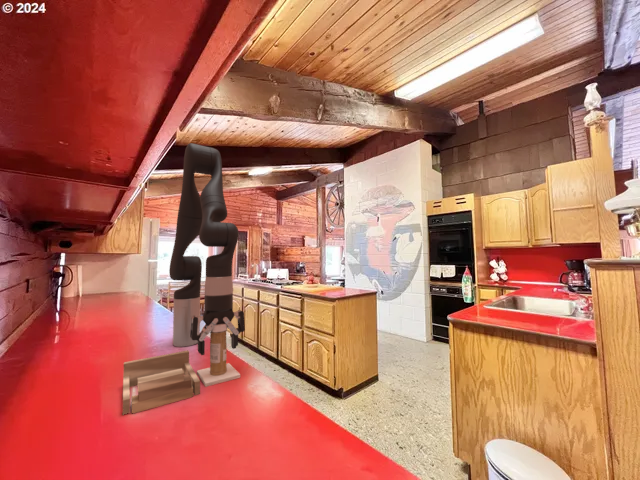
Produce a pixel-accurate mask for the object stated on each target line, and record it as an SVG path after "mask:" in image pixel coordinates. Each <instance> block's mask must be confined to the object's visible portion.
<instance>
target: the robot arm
mask: <svg viewBox="0 0 640 480" xmlns="http://www.w3.org/2000/svg"><path fill="white" fill-rule="evenodd" d="M184 150H185V151H184V157H183V171H182V183H181V184H182V186H181V195H180V199H179V205H178V211H177V218H176V226H175V227H176V229H175V237H174V239H175V240H174V243H173V249H172V252H171V258H170V262H169V263H170V264H169V270H168V271H169V277H170V279H171V280H173V281H188V280H189V283H188V284H186V285H185V286H183V287H182V288H179V289H176V290H175V291H174V292H173V315H172V316H173V320H172V322H173V327H172V345H173V346H174V347H177V348H178V347H180V348H182V347H190V346H193V345H196V344H197V351H198V353H199V354H200V355H201V356H205V355H206V354H205V348H206V347H205V346H206V345H205V342H206V341H205V339H206V337H207V336H208V335H209V334H210V331H211V330H212V328H213V327H214V326H215V325H218V324H226V325H227V329H229V331H230V332H231V338H230V339H231V342H230V344H231V345H230V347H231V348H232V349H233V350H234V349H237V347H238V346H239V334H241V333H242V332H245V331H246V329H245V328H246V327H245V325H246V324H245V312H244V311H243V310H241V309H238V310H237V311H234V309H233V308H234V301H233V300H234V294H233V293H234V283H233V282H234V281H233V259H234V254H235V251H236V246H237V244H238V240H239V237H240V234H239V233H240V232H239V229H238V227H237V226H236V224H235V223H232V222H224V221H225V220H226V219H227V217H228V209H227V205H226V200H225V194H224V188H223V187H224V186H223V185H224V183H223V181H224V180H223V179H224V178H223V163H222V161H223V160H222V156H221V152H220V151H219V150H218V149H217V148H214V147H211V146H205V145H201V144H197V143H188V144H187V146H186V147H185V149H184ZM195 174H200V175H205V176H207V175H208V176H211V178H210V180H209V181H208V183H207V184H206V185H205V186H204V187H203V188H202V191H201V192H200V193H199V191H198V188H197V185H196V183H195V182H196V180H195ZM197 237H198V238H199V239H198V240H199V242H200V243H201V244H202V245H203V246H205V247H208V248H209V247H210V248H212V247H214V248H215V247H219V248H221V247H222V248H223V250H222V251H221V252H220V253H218V254H213V255H209V256H208V257H207V258H206V259H205V278H204V279H205V281H204V296H203V297H204V300H203V301H204V305H203V306H204V307H203V308H204V310H203V311H204V312H203V315H201V289H202V283H201V282H202V272H203V271H202V267H203V265H202V264H203V263H202V259H201V258H200V257H199V256H197V255H186V256H185V253H186V251H187V249H188V248H189V246H190V245H191V244H192V243H193V242H194V241H195V239H197ZM234 318H236V319H237V328H236V326H234V324H233V323H232V320H233V319H234ZM202 321H203V323H205V325H203V327H202V328H201V322H202Z"/></svg>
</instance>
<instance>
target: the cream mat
mask: <svg viewBox="0 0 640 480" xmlns="http://www.w3.org/2000/svg"><path fill="white" fill-rule="evenodd" d="M226 368H227V371H226V372H225V373H223V374H220V375H211V374H210V367H207V368H202V369H198V370H196V375H197V377H198V378H199V380H200V382H202V383H203V384H202V385H204V387H205V388H207V387H209V386H213V385H217V384H221V383H225V382H230V381H232V380H235V379H240V378H241V373H240V372H239V371H238V370H236V368H235V367H233V365H232V364H231V363H229V362H228V363H227V362H226Z"/></svg>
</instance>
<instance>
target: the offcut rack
mask: <svg viewBox="0 0 640 480" xmlns="http://www.w3.org/2000/svg"><path fill="white" fill-rule="evenodd" d="M122 377H123V380H122V416H124V414H126V415H128V414H127V413H129V414H130V410H131V414H132V413H133V414H136V413H140V412H143V411H147V410H151V409H154V408H157V407H162V406H165V405H168V404H172V403H174V402H175V403H176V402H178V401H183V400H186V399H190V398H194V396H197V395H201V379H200V377H199V376H198V374H197V372H196V371H195V370H194V369H193V367H192V365H191V364H190V351H189V350H187V349H186V350H183V351H177V352H172V353H167V354H162V355H157V356H156V355H155V356H151V357H147V358H146V357H145V358H140V359H134V360H129V361H124V362H123V374H122ZM132 387H137V394H136V395H131V397H130V393H131V391H130V388H132ZM130 405H131V406H130ZM130 407H131V408H130Z"/></svg>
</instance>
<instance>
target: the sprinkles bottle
mask: <svg viewBox="0 0 640 480" xmlns="http://www.w3.org/2000/svg"><path fill="white" fill-rule="evenodd" d="M227 329H228V327H227V325H226V324H218V325H215V326H214V327H213V328H212V330H211V331H210V333H209V334H210V342H209V366H210V367H209V368H210V374H211V375H220V374H223V373H225V372H226V371H227V368H226V364H227V359H228V355H227V347H228V346H227Z"/></svg>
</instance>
